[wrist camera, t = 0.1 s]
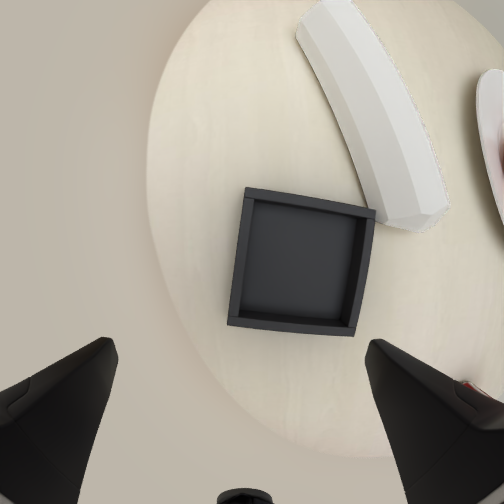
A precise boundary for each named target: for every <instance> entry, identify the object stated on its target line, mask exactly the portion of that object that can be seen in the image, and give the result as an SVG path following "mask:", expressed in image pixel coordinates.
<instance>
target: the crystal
mask: <svg viewBox="0 0 504 504" xmlns="http://www.w3.org/2000/svg"><path fill="white" fill-rule="evenodd" d="M295 37H296V39H297V40H298V42H299V44H300V46H301V47H302V49H303V51H304V53H305V55H306V57H307V58H308V60H309V62H310V64H311V66H312V68H313V70H314V72H315V74H316V76H317V78H318V80H319V82H320V84H321V86H322V88H323V90H324V92H325V95H326V97H327V99H328V101H329V103H330V106H331V108H332V110H333V112H334V115H335V117H336V119H337V122H338V124H339V126H340V129H341V131H342V134H343V136H344V139H345V141H346V144H347V146H348V149H349V152H350V154H351V157H352V160H353V163H354V165H355V168H356V171H357V174H358V177H359V180H360V183H361V186H362V189H363V192H364V195H365V198H366V201H367V205H368V208H369V209H374V210H376V218H375V221H376V222H379V223H381V224H384V225H389V226H393V227H397V228H401V229H405V230H409V231H413V232H417V233H420V232H424V231H426V230H428V229H429V228H431V227H433V226H434V225H435V224H436V223H437V222H438V221H439V220H440V219H441V218H442V217H443V216H444V215H445V213H446V212H447V211H448V210H449V209H450V200H449V196H448V193H447V189H446V185H445V182H444V178H443V175H442V172H441V169H440V165H439V162H438V159H437V156H436V153H435V151H434V148H433V145H432V142H431V140H430V137H429V134H428V132H427V129H426V127H425V124H424V122H423V120H422V117H421V115H420V113H419V110H418V108H417V106H416V104H415V102H414V99H413V97H412V95H411V93H410V91H409V89H408V87H407V85H406V83H405V81H404V79H403V77H402V76H401V74H400V72H399V70H398V68H397V66H396V65H395V63H394V61H393V59H392V58H391V56H390V54H389V53H388V51H387V49H386V48H385V46H384V45H383V43H382V41H381V40H380V38H379V37H378V35H377V34H376V32H375V31H374V29H373V28H372V26H371V25H370V23H369V22H368V21H367V19H366V18H365V16H364V15H363V14H362V12H361V11H360V10H359V8H358V7H357V6H356V5H355V3H354V2H353V1H352V0H320V1H319V2H317V3H316V4H315V5H313V6H312V7H311V8H310V9H309V10H308V11H307V12H306V13H305V14H304V15H303V16H302V17H301V18H300V20H299V24H298V28H297V32H296V36H295Z"/></svg>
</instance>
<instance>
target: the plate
mask: <svg viewBox="0 0 504 504" xmlns="http://www.w3.org/2000/svg"><path fill="white" fill-rule="evenodd" d="M476 112H477V121H478V128H479V135H480V140H481V146H482V151H483V155H484V160H485V164H486V168H487V173H488V176H489V180H490V184H491V188H492V191H493V195H494V198H495V201H496V204H497V208H498V211H499V214H500V216H501V219H502V222H503V225H504V71H502V70H498V69H489V70H486V71H485V72H484V73H483V74H482V75H481V76H480V78H479V81H478V84H477V89H476Z"/></svg>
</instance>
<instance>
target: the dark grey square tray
mask: <svg viewBox="0 0 504 504" xmlns="http://www.w3.org/2000/svg"><path fill="white" fill-rule="evenodd" d="M375 218H376V210H374V209H369V208H364V207H360V206H355V205H350V204H345V203H340V202H335V201H330V200H324V199H319V198H313V197H308V196H302V195H296V194H290V193H284V192H277V191H271V190H264V189H257V188H250V187H245V193H244V200H243V207H242V214H241V221H240V228H239V235H238V243H237V250H236V258H235V265H234V273H233V280H232V288H231V296H230V303H229V311H228V319H227V325H229V326H237V327H245V328H253V329H262V330H271V331H281V332H291V333H303V334H316V335H331V336H350V337H354V335H355V331H356V326H357V322H358V318H359V313H360V309H361V304H362V299H363V294H364V289H365V284H366V279H367V273H368V267H369V261H370V255H371V248H372V242H373V234H374V226H375Z"/></svg>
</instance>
